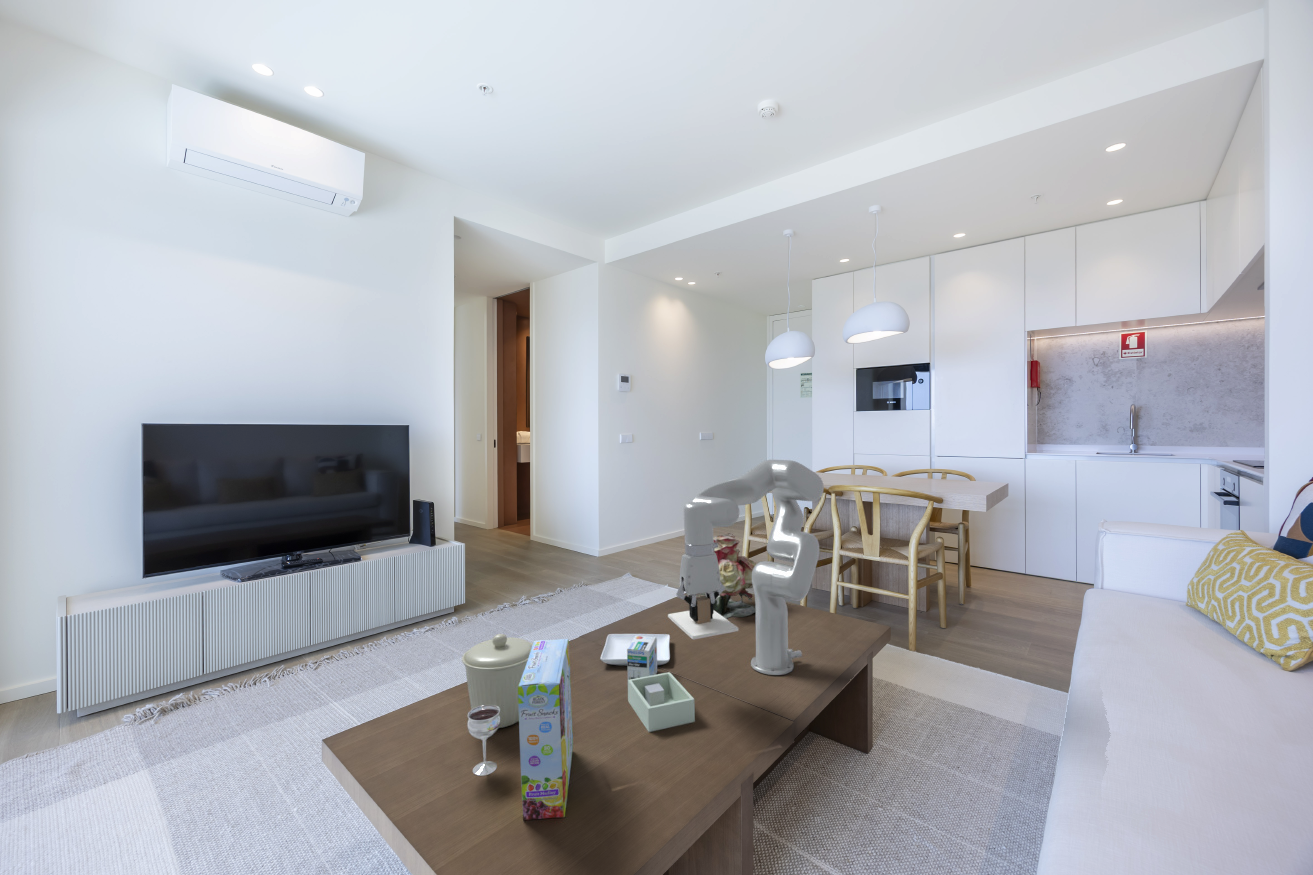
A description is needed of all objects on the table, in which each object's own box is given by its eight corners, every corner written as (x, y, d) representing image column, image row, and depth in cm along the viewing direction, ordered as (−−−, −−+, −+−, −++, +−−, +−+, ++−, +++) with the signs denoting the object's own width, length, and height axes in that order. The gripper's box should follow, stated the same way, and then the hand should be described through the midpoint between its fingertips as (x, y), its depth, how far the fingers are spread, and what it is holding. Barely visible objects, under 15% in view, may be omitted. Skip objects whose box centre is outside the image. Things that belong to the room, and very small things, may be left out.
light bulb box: (650, 689, 150) (649, 650, 150) (626, 687, 151) (626, 649, 151) (657, 672, 160) (657, 636, 160) (635, 670, 162) (635, 634, 161)
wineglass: (462, 777, 112) (461, 720, 112) (475, 758, 119) (474, 704, 119) (494, 778, 112) (493, 721, 112) (505, 758, 119) (504, 704, 118)
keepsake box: (628, 702, 143) (627, 679, 142) (670, 693, 147) (669, 671, 147) (648, 733, 128) (648, 708, 128) (694, 723, 132) (694, 698, 132)
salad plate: (670, 642, 183) (669, 632, 183) (669, 670, 162) (669, 658, 162) (607, 642, 184) (607, 632, 184) (599, 670, 163) (599, 659, 163)
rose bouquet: (717, 624, 199) (716, 543, 198) (684, 601, 226) (684, 530, 225) (776, 615, 208) (775, 537, 208) (738, 594, 235) (737, 525, 235)
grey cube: (658, 698, 144) (658, 683, 143) (664, 705, 140) (664, 689, 140) (644, 700, 142) (644, 685, 142) (650, 708, 138) (649, 692, 138)
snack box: (534, 752, 121) (532, 638, 120) (574, 750, 121) (572, 636, 121) (518, 822, 99) (515, 683, 99) (566, 819, 100) (563, 681, 100)
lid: (668, 617, 147) (667, 592, 147) (709, 609, 151) (708, 585, 151) (692, 639, 132) (691, 611, 131) (738, 630, 136) (737, 604, 136)
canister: (551, 705, 141) (549, 625, 141) (510, 743, 124) (509, 652, 124) (492, 695, 147) (491, 618, 147) (446, 730, 130) (445, 643, 130)
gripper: (721, 542, 147) (723, 609, 148) (664, 549, 142) (667, 618, 142) (734, 548, 140) (736, 618, 141) (675, 556, 134) (678, 628, 135)
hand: (701, 617), depth 141 cm, fingers closed on lid, 3 cm apart
